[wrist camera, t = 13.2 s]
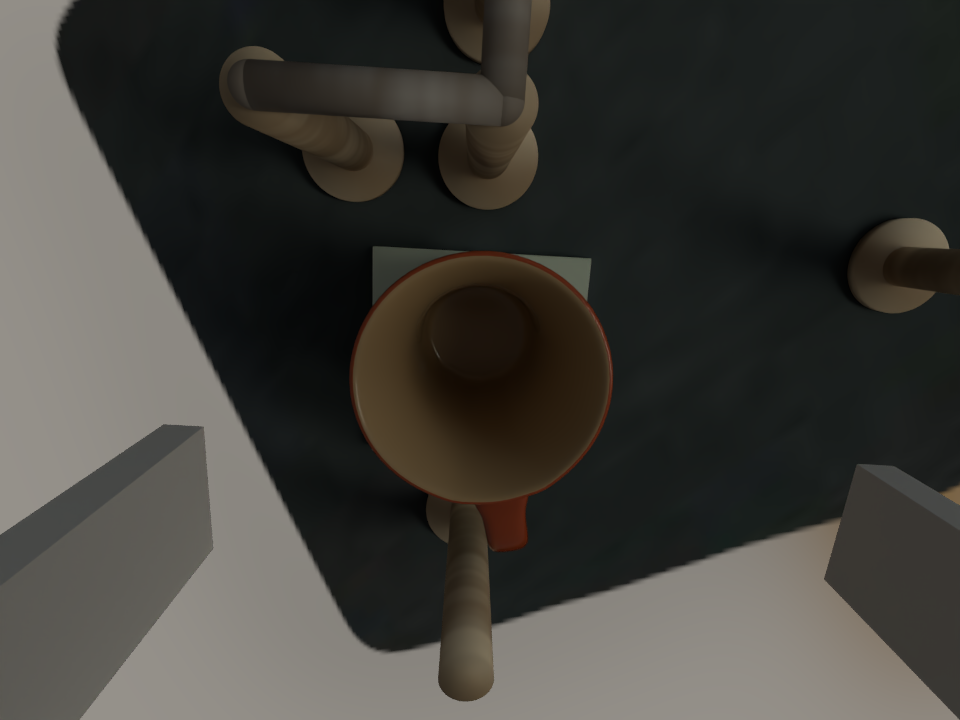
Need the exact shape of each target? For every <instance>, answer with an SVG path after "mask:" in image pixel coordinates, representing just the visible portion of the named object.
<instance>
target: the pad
mask: <svg viewBox="0 0 960 720" xmlns="http://www.w3.org/2000/svg"><path fill="white" fill-rule="evenodd" d="M460 252H469V251H453V250H436V249H418V248H400V247H383V246H373V305H374V304H375V302H376V301H377V300H378V298H379V297H380V296H381V295H382V294H383V293H384V292H385V291H386V290H387V289H388V288H389V287H390V286H391V285H392V284H393V283H395V282H396V281H397V280H398V279H399V278H401V277H402V276H404V275H405V274H406V273H408V272H409V271H411V270H413V269H415V268H416V267H418V266H420V265H422V264H424V263H427V262H429V261H431V260H434V259H437V258H440V257H443V256H446V255H450V254H455V253H460ZM514 255H518V256H521V257H524V258H527V259H530V260H532V261H535V262H537V263H540V264H542V265H544V266H545V267H547V268H549V269H551V270H553V271H554V272H556V273H557V274H558V275H560V276H561V277H563V278H564V279H565V280H567V281H568V282H569V283H570V284H571V285H572V286H574V287H575V288H576V289H577V291H578V292H579V293H580V294H581V295H582V296H583V297H584V298H585V300H586V301H587V295H588V286H589V277H590V267H591V259H590V258H576V257H558V256H541V255H523V254H514Z"/></svg>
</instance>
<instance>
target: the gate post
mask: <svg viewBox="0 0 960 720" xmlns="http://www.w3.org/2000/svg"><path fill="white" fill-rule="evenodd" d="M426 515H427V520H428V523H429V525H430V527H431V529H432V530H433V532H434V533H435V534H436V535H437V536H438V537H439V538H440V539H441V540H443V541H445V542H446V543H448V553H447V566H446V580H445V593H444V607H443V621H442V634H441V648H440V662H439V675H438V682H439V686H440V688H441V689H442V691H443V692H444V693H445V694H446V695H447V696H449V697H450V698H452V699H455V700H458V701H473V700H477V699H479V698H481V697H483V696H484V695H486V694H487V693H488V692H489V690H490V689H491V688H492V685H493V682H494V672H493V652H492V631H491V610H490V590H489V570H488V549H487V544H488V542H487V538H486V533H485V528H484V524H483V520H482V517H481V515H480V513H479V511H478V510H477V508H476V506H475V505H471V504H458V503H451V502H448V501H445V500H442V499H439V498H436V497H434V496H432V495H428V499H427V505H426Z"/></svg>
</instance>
